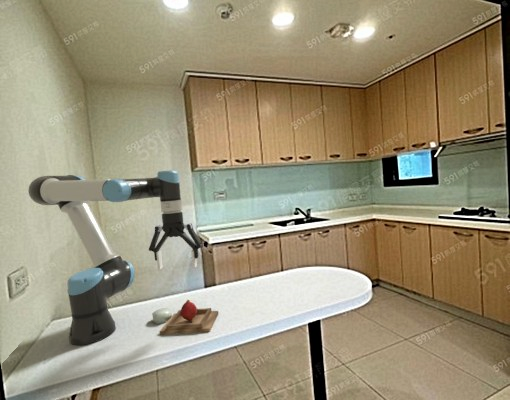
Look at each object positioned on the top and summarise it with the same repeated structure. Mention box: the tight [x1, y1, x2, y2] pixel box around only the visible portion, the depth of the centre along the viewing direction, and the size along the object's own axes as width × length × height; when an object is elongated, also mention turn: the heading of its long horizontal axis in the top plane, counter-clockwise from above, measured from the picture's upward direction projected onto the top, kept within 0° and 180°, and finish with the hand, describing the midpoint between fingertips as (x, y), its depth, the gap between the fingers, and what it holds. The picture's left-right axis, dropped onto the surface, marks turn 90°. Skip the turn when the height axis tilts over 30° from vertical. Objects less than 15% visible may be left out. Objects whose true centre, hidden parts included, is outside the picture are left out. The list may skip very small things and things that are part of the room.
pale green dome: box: [152, 307, 173, 325], centre depth 119 cm, size 7×7×3 cm
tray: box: [159, 307, 219, 335], centre depth 113 cm, size 18×14×3 cm
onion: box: [180, 299, 198, 321], centre depth 112 cm, size 6×6×8 cm
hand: (177, 267), depth 115 cm, fingers open, 13 cm apart
